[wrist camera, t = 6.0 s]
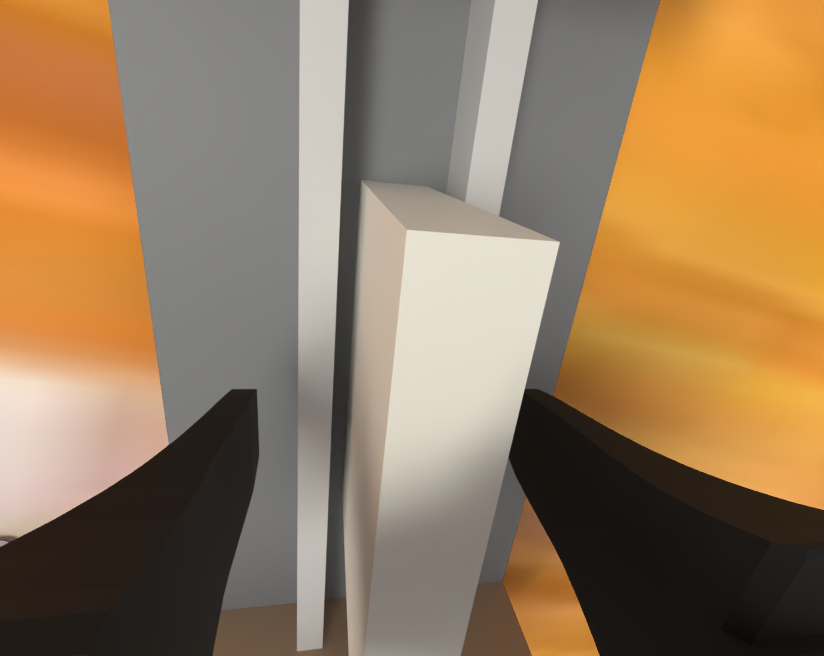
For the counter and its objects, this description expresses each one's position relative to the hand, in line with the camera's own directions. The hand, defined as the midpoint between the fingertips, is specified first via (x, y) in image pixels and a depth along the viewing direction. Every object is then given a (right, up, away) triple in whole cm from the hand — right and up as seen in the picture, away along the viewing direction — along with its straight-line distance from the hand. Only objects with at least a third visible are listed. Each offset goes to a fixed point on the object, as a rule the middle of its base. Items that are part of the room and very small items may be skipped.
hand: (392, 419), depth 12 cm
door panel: (-1, +1, +3) cm, 3 cm away
